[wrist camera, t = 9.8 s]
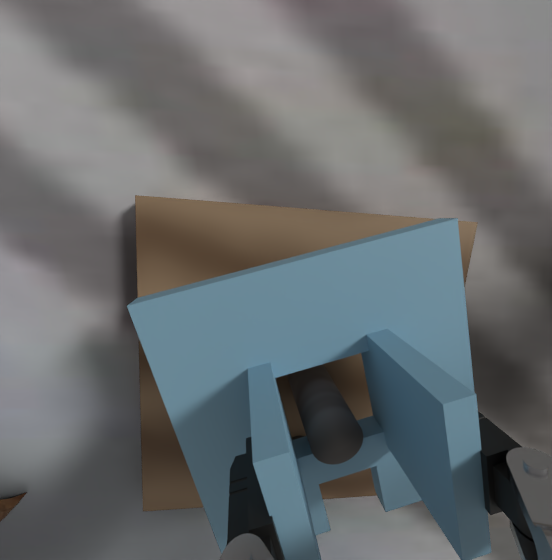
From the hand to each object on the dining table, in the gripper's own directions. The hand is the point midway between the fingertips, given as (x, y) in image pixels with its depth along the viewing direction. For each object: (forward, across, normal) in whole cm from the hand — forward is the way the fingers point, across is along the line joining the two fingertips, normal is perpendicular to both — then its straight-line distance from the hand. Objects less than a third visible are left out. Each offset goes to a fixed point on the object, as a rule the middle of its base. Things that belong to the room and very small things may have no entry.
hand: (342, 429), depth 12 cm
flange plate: (+3, 0, 0) cm, 3 cm away
